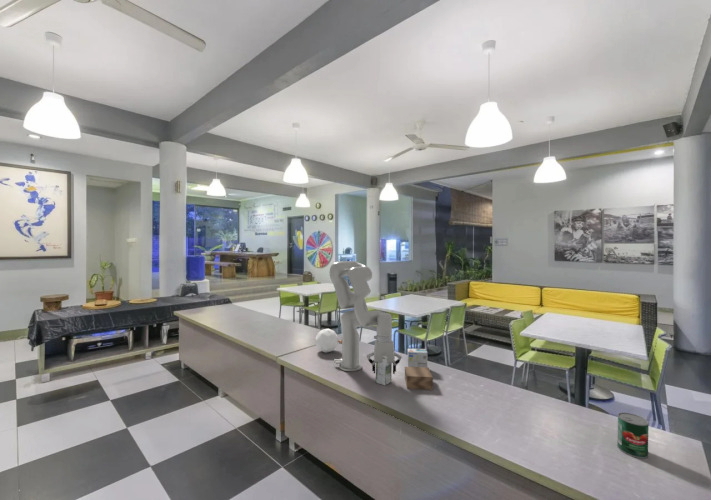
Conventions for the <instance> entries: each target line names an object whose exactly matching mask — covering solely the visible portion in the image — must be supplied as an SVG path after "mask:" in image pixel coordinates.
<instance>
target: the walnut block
mask: <svg viewBox="0 0 711 500" xmlns="http://www.w3.org/2000/svg"><path fill="white" fill-rule="evenodd" d="M433 379H434V377H433V374H432V373H431V370H430V368H429V367H428V366H427V367H408V366H404V380H405V381H404V382H405V385H406V389H409V390H433V385H434V381H433Z"/></svg>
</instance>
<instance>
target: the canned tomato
mask: <svg viewBox="0 0 711 500" xmlns="http://www.w3.org/2000/svg"><path fill="white" fill-rule="evenodd" d="M649 425H650V422H649V420H647V419H646V418H644V417H643V416H640V415H638V414H633V413H631V412H623V411H622V412H618V413H617V444H616V445H617V448H618V450H620V451H621V452H622V453H624V454H625V455H628V456H631V457H632V458H633V457H634V458H637V459H646V458H648V457H649V427H650V426H649Z"/></svg>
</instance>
